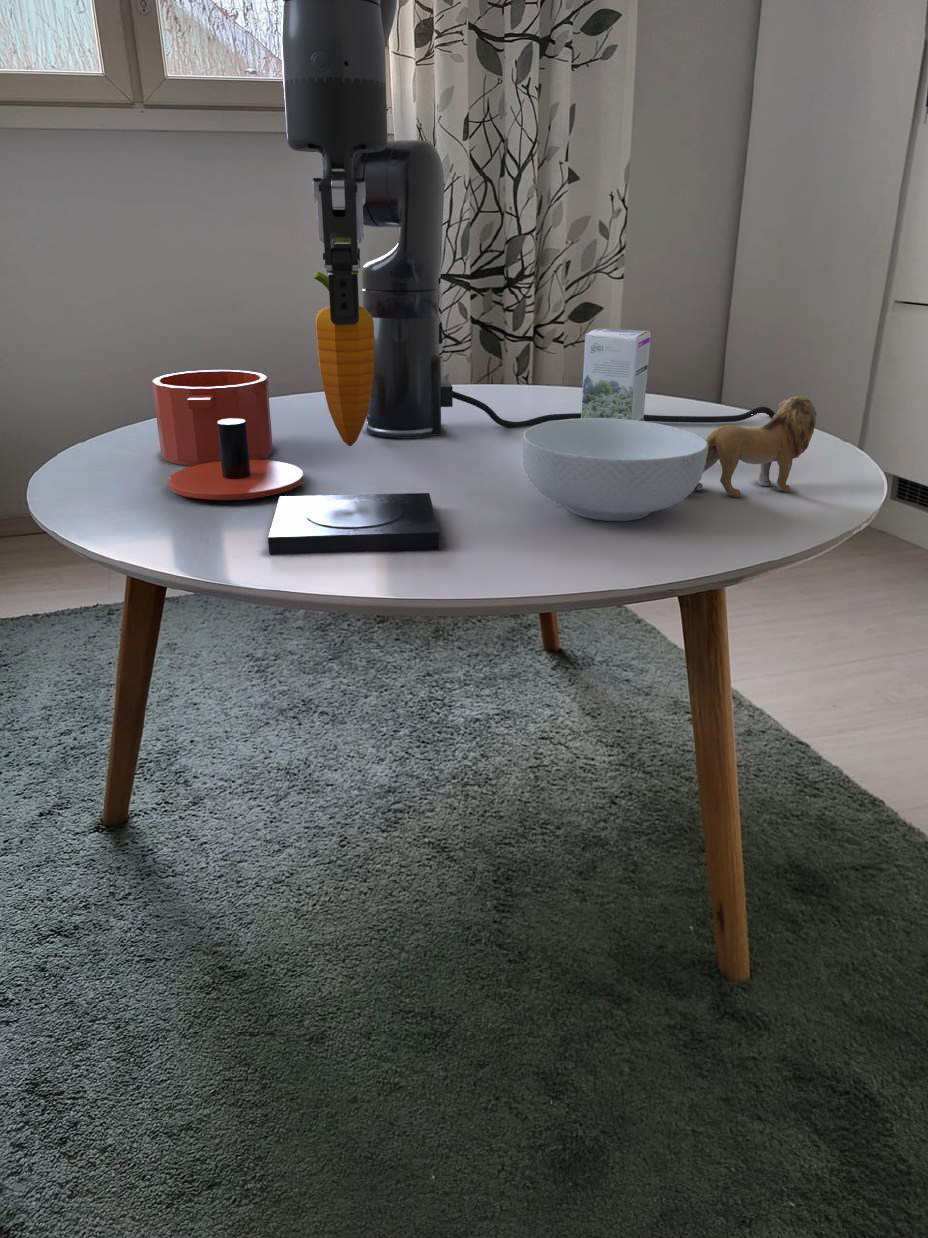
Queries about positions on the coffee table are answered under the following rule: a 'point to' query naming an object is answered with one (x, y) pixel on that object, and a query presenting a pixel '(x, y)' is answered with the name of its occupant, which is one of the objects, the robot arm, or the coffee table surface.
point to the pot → (210, 413)
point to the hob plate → (353, 524)
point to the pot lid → (235, 471)
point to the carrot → (346, 367)
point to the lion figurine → (763, 444)
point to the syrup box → (615, 374)
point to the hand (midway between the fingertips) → (345, 319)
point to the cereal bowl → (613, 465)
